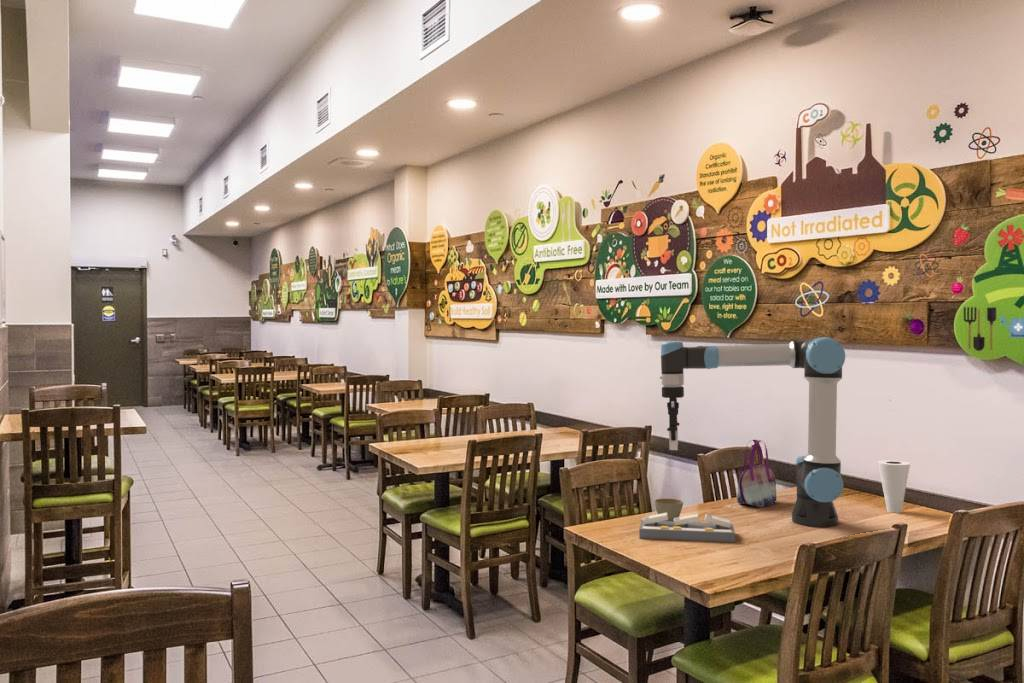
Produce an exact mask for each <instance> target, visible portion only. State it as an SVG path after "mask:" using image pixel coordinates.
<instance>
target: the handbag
mask: <svg viewBox="0 0 1024 683" xmlns="http://www.w3.org/2000/svg"><path fill="white" fill-rule="evenodd" d="M751 441H753V443H754V444H753V445H752V449H751V452H750V458H749V464H750V465H749V466H747V458H748V457H747V456H748V444H749V443H750V442H751ZM761 442H763V444H764V447H765V462H766V464H765V465H764V464H763V461H764V460H763V450H762V447H761V445H760V444H761ZM747 443H748V444H747V445H746V448H745V451H744V452H745V453H744V458H743V459H744V461H743V472H742V473H741V474H740V476H739V479H738V484H737V492H736V493H737V494H736V496H737V497H736V502H737V503H738V504H739V505H750V506H753V507H756V508H763V507H767V506H772V505H775V504H776V503H777V481H776V476H775V473H774V471H773V470H772V468H770V463H769V454H768V452H769V451H768V448H767V445H766V443H765V442H764V441H763V440H761V439H759V440H757V439H751V440H749V441H748V442H747ZM756 452H758V457H759V459H758V460H759V464H754V458H755V455H756ZM775 501H776V502H775Z"/></svg>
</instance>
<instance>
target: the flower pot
mask: <svg viewBox="0 0 1024 683" xmlns="http://www.w3.org/2000/svg"><path fill="white" fill-rule="evenodd" d="M653 502H654V506H655V510H656V512H657V513H656V514H662V513H667V515H668V520H665V521H673V522H674V518H677V517H680V515H681V513H682V510H683V505H684V501H683V500H681V499H677V498H664V497H663V498H657V499H655V500H653Z"/></svg>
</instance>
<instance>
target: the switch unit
mask: <svg viewBox="0 0 1024 683" xmlns="http://www.w3.org/2000/svg"><path fill="white" fill-rule="evenodd" d="M638 530H639V534H638V535H639V539H648V540H649V539H650V540H669V541H670V540H671V541H691V542H692V541H693V542H694V541H695V542H696V541H697V542H718V543H736V531H735V528H734V525H733V523H731V525H730V528H728V527H724V526H720V525H717V524H713V523H709V522H699V521H698V522H692V523H687V524H681V525H676V526H675V524H674V522H673V521H660V522H655V523H649V524H644V522H643V519H642V520H640V524H639V529H638Z"/></svg>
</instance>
